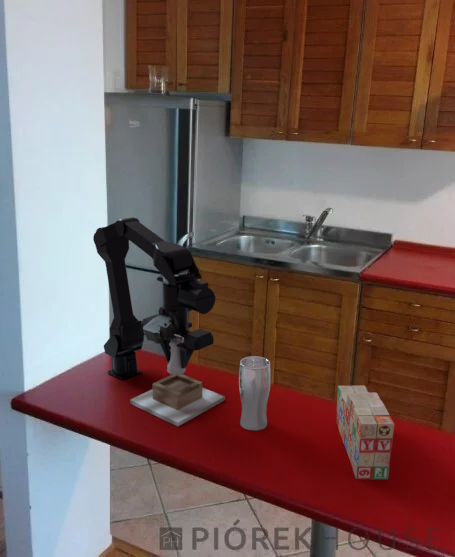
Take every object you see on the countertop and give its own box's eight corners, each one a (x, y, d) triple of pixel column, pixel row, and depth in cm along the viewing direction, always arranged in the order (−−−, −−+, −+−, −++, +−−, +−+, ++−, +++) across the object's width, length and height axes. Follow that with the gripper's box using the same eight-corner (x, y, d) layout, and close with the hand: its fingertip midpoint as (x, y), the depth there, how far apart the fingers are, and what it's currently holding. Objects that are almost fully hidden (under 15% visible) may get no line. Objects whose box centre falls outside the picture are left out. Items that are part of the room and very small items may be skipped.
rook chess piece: (178, 377, 133) (178, 345, 131) (163, 372, 135) (162, 341, 133) (189, 370, 137) (189, 339, 134) (174, 366, 139) (174, 335, 136)
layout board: (130, 403, 137) (129, 384, 136) (177, 380, 149) (177, 363, 147) (177, 426, 127) (177, 406, 126) (224, 400, 139) (224, 381, 138)
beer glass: (275, 423, 129) (277, 362, 125) (255, 435, 124) (256, 372, 120) (252, 412, 133) (253, 353, 129) (231, 423, 128) (232, 362, 124)
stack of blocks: (335, 422, 130) (338, 372, 126) (362, 422, 130) (366, 372, 126) (356, 480, 109) (360, 423, 106) (389, 480, 109) (394, 423, 106)
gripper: (121, 302, 131) (124, 365, 135) (180, 321, 119) (180, 389, 124) (157, 291, 139) (158, 350, 143) (215, 308, 128) (214, 372, 132)
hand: (176, 365), depth 135 cm, fingers closed on rook chess piece, 4 cm apart
